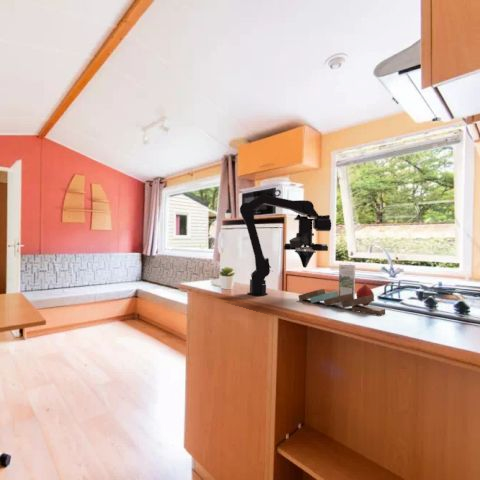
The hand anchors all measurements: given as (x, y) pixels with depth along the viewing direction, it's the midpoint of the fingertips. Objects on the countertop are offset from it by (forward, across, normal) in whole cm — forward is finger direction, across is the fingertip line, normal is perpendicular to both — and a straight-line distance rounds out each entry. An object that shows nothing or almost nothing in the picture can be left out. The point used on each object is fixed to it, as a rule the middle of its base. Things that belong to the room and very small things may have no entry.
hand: (304, 267), depth 127 cm
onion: (+12, +26, 0) cm, 29 cm away
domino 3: (+11, +17, -9) cm, 22 cm away
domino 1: (+11, +5, -9) cm, 15 cm away
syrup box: (+12, +16, +6) cm, 21 cm away
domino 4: (+11, +24, -10) cm, 28 cm away
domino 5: (+12, +26, -9) cm, 30 cm away
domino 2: (+11, +11, -9) cm, 18 cm away
